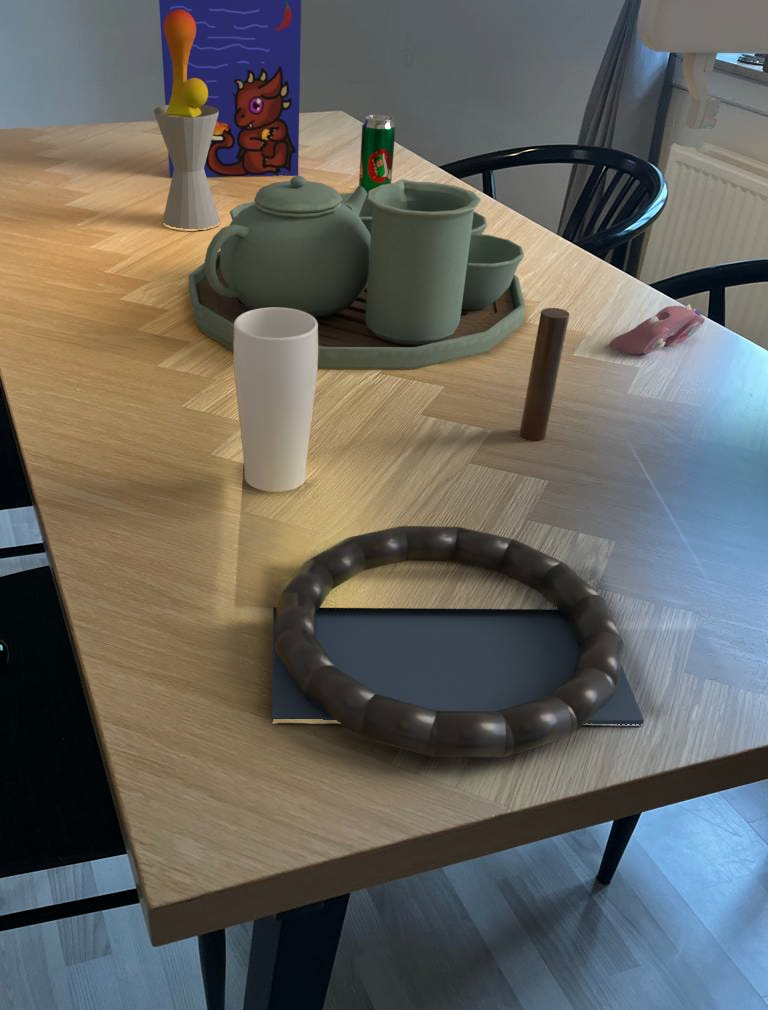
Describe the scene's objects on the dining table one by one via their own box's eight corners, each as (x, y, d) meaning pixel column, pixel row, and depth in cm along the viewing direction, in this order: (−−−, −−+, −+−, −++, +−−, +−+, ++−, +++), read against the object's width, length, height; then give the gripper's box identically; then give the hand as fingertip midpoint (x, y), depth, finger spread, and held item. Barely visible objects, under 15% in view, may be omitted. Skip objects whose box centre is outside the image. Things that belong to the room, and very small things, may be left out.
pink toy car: (625, 381, 108) (663, 335, 102) (600, 351, 109) (636, 303, 103) (681, 360, 112) (720, 315, 106) (656, 331, 113) (694, 285, 108)
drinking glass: (229, 505, 84) (224, 335, 74) (244, 467, 89) (241, 303, 79) (307, 513, 83) (312, 342, 73) (318, 473, 88) (324, 309, 78)
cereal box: (294, 166, 171) (297, -42, 152) (298, 175, 166) (301, -38, 148) (169, 168, 169) (156, -43, 150) (169, 177, 164) (156, -39, 145)
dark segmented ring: (572, 550, 78) (579, 520, 76) (660, 768, 60) (672, 735, 58) (276, 547, 78) (277, 517, 76) (273, 764, 59) (273, 731, 58)
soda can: (365, 195, 157) (370, 112, 150) (394, 200, 156) (401, 116, 148) (352, 203, 154) (357, 119, 146) (382, 208, 152) (388, 123, 145)
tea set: (568, 297, 123) (596, 155, 113) (421, 416, 97) (440, 246, 87) (303, 239, 140) (306, 110, 129) (117, 327, 114) (102, 175, 103)
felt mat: (586, 589, 75) (588, 583, 74) (642, 727, 63) (644, 720, 63) (273, 587, 75) (273, 580, 74) (271, 724, 63) (271, 717, 63)
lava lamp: (151, 228, 143) (129, -67, 121) (175, 211, 150) (159, -71, 128) (208, 234, 141) (197, -64, 119) (230, 217, 148) (224, -69, 125)
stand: (562, 429, 95) (590, 296, 87) (581, 469, 89) (613, 331, 81) (480, 428, 95) (500, 295, 87) (494, 469, 89) (517, 330, 81)
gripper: (982, -124, 61) (893, 120, 70) (659, -129, 61) (610, 116, 70) (1043, -121, 57) (939, 141, 65) (691, -127, 56) (634, 136, 65)
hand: (766, 128), depth 68 cm, fingers open, 8 cm apart
